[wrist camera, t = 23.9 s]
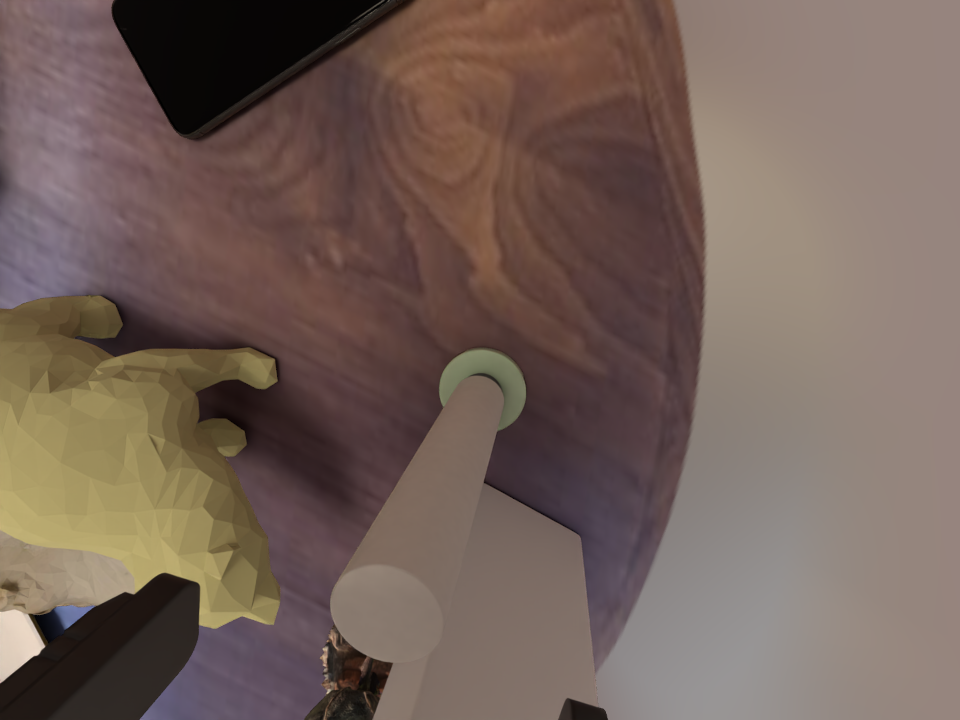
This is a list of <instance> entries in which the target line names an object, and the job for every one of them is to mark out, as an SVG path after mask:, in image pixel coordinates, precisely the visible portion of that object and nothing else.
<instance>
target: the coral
mask: <svg viewBox="0 0 960 720" xmlns="http://www.w3.org/2000/svg"><path fill="white" fill-rule="evenodd" d="M124 592H128V593H131V594H134V593H135V583H134V577H133V575H132V574H131V573H130V572H129V570H128V569H127V568H126V567H125V565H124V564H123V563H122V561H121V560H117V559H114V558H111V557H108V556H104V555H101V554H98V553H95V552H91V551H83V550H73V549H63V548H48V547H43V546H37V545H32V544H28V543H25V542H23V541H21V540H19V539H16V538H14V537H12V536H10V535H9V534H7V533H5V532H3V531H1V530H0V612H5V611H9V610H14V609H15V610H18V611H21V612H23V613H24V614H34V615H41V614H46V613H49V612H50V611H51V610H52V609H53V608H55V607H57V606H68V605H73V606H76V607H87V606H91V605H95V606H98V605H100V604H102V603H104V602H106V601H108V600H110V599H112V598H114V597H116V596H118V595H120V594H122V593H124Z"/></svg>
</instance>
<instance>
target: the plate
mask: <svg viewBox="0 0 960 720" xmlns="http://www.w3.org/2000/svg"><path fill="white" fill-rule="evenodd" d="M47 645H48V642H47V640H46V638H45V636H44V635H43V633H42V631H41V629H40V627H39V625H38V623H37V621H36V619H35V617H34V616H33V614H24V613H23V612H21V611H18V610H15V609H14V610H9V611H5V612H0V683H1V682H3V681H4V680H5V679H6V678H7V677H9V676H10V675H11V674H12V673H14V672H15V671H16V670H17V669H18V668H20V667H21V666H22V665H23V664H25V663H26V662H27V661H28V660H30V659H31V658H32V657H33V656H37V655H38V654H39V653H40V651H41V650H42V649H43V648H44V647H45V646H47Z"/></svg>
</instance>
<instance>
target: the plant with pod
mask: <svg viewBox="0 0 960 720" xmlns="http://www.w3.org/2000/svg"><path fill="white" fill-rule="evenodd" d="M332 630H333V631H330V633H331V634H330V635H328V636H330V637H329V638H330V639H329V640H328V641H327V642H328V644H325V646H326V647H325V648H323V651H324V652H325V653H324V654H323V655H322V657H320V659H322V661H323V662H324V664H323V665H324V666H325V669H324V671H323V675H324V676H325V677H327V678H326V679H325V681H324V682H323V683H322V686H323V687H324V688H325V689H326V690H327V691H328V692H327V693H326V696H325V697H324V698H323V699H322V700H321V701H320V702H319V703H318V704H317V705H316V706H315V707H314V708H313V709H312V710H311V711H310V713H309V714H308V715H307V716H306V718H305V719H304V720H373V717H374V714H375V712H376V709H377V706H378V703H379V701H380V698H381V695H382V693H383V690H384V687H385V684H386V682H387V679H388V676H389V673H390V671H391V668H392V665H393V663H391V662H385V661H381V660H377V659H374V658H371V657H369V656H367V655H365V654H363V653H362V652H360V651H358V650H357V649H355V648H354V647H353V646H352V645H350V644H349V643H348V642H347V641H346V640H345V639H344V637H343V636H342V635H341V634H340V632H339V631H338V629H337V627H336V625H334V626H333V628H332Z"/></svg>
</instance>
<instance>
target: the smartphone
mask: <svg viewBox="0 0 960 720" xmlns="http://www.w3.org/2000/svg"><path fill="white" fill-rule="evenodd" d="M403 1H405V0H114V1H113V4H112V17H113V20H114V23H115V25H116V27H117V29H118V30H119V32H120V34H121V36H122V38H123V40H124V41H125V43H126V45H127V47H128V49H129V50H130V52H131V54H132V56H133V58H134V60H135V61H136V63H137V65H138V67H139V69H140V70H141V72H142V74H143V76H144V78H145V79H146V81H147V83H148V85H149V86H150V88H151V90H152V92H153V94H154V95H155V97H156V99H157V101H158V103H159V104H160V106H161V108H162V110H163V112H164V113H165V115H166V117H167V119H168V120H169V122H170V124H171V126H172V127H173V129H174V130H175V131H176V132H177V133H178V134H179V135H181V136H182V137H184V138H188V139H195V138H198V137H200V136H202V135H204V134H205V133H207V132H208V131H210V130H211V129H213V128H214V127H216V126H217V125H219V124H220V123H222V122H223V121H225V120H226V119H228V118H229V117H231V116H232V115H234V114H235V113H237V112H238V111H240V110H241V109H243V108H244V107H246V106H247V105H249V104H250V103H252V102H253V101H255V100H256V99H258V98H259V97H261V96H262V95H264V94H265V93H267V92H268V91H270V90H271V89H273V88H274V87H276V86H277V85H279V84H280V83H282V82H283V81H285V80H286V79H288V78H289V77H291V76H292V75H294V74H295V73H297V72H298V71H300V70H301V69H303V68H304V67H306V66H307V65H309V64H310V63H312V62H313V61H315V60H316V59H318V58H319V57H321V56H322V55H324V54H325V53H327V52H328V51H330V50H331V49H333V48H334V47H336V46H338V45H339V44H341V43H342V42H344V41H345V40H347V39H348V38H350V37H351V36H353V35H354V34H356V33H357V32H359V31H360V30H361V29H363V28H364V27H366V26H367V25H369V24H370V23H372V22H373V21H375V20H376V19H378V18H379V17H381V16H382V15H384V14H385V13H387V12H388V11H390V10H391V9H393V8H394V7H396V6H397V5H399V4H400V3H402V2H403Z"/></svg>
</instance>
